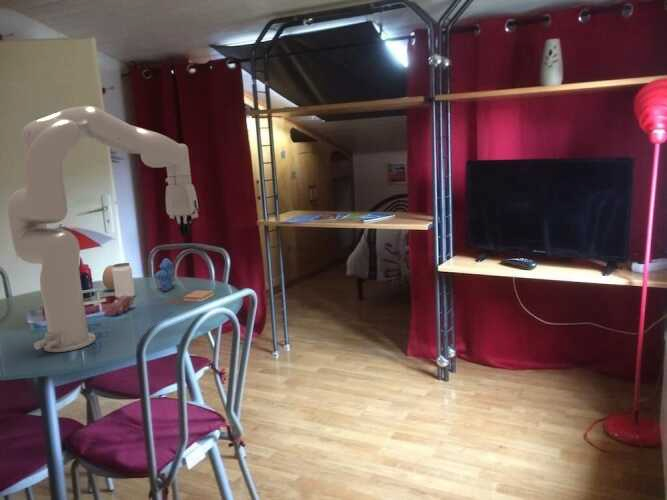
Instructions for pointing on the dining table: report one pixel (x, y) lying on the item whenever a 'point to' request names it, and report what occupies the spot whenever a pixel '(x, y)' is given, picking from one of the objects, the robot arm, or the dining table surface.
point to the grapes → (165, 274)
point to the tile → (198, 295)
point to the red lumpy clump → (119, 305)
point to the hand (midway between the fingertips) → (185, 234)
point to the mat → (179, 299)
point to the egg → (108, 278)
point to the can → (123, 280)
